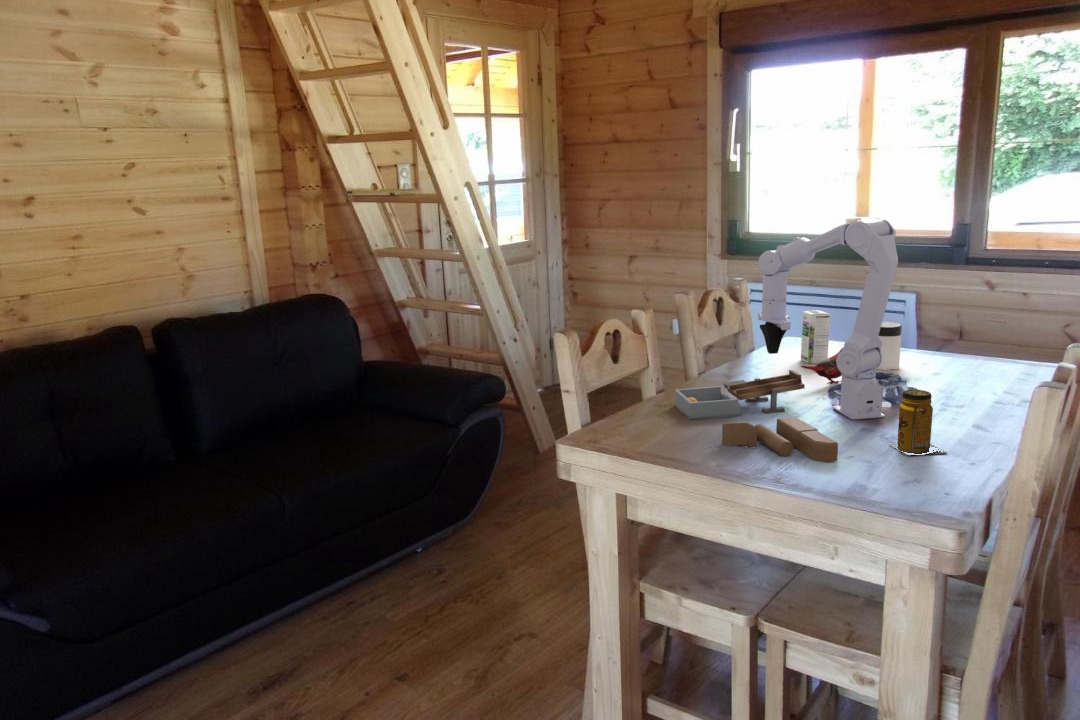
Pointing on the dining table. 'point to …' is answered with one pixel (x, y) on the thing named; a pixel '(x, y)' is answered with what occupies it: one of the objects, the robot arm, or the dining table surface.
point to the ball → (692, 399)
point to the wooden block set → (783, 438)
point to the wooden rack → (765, 386)
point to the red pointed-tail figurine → (827, 369)
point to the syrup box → (815, 336)
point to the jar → (890, 345)
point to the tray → (706, 403)
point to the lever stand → (773, 402)
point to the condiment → (915, 423)
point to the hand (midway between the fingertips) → (772, 353)
